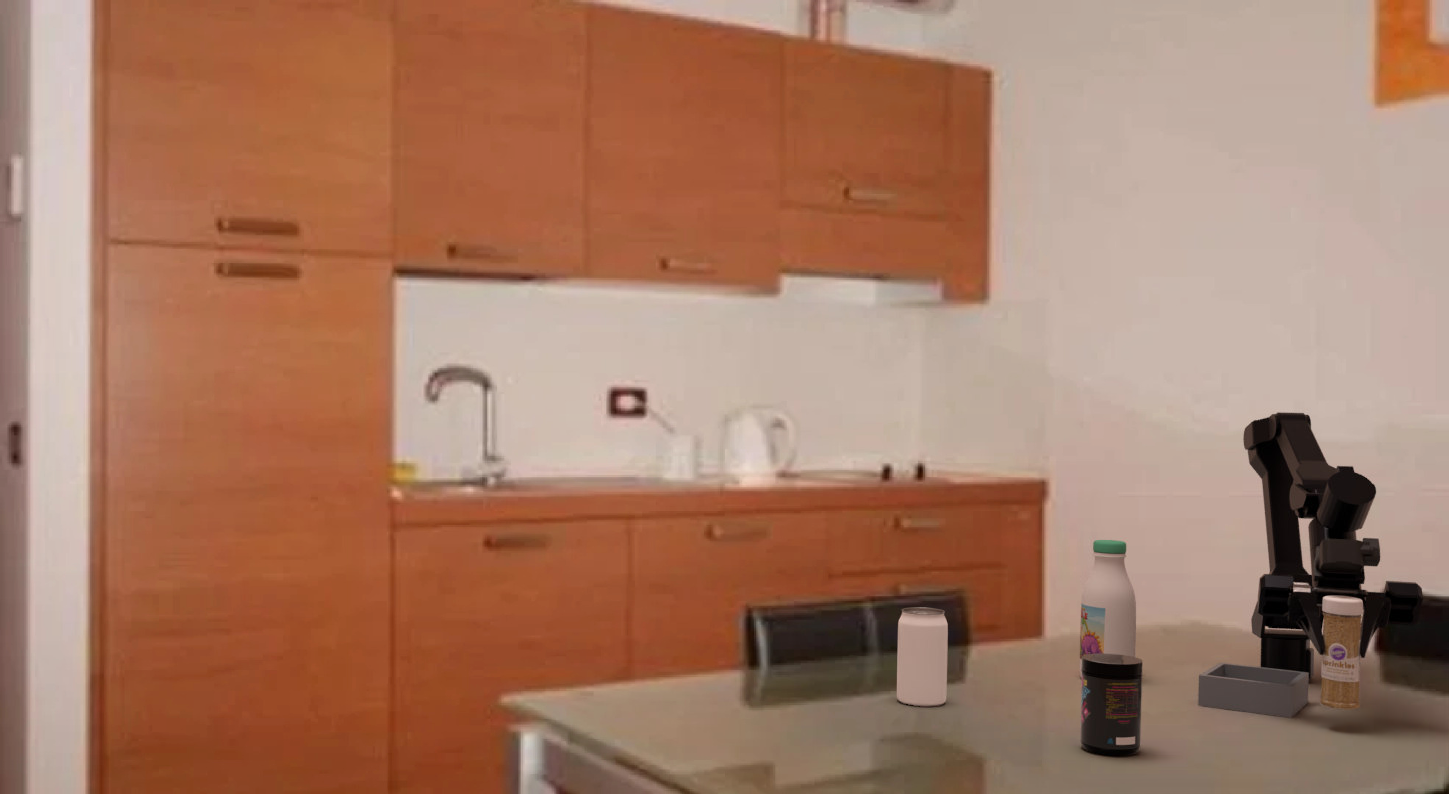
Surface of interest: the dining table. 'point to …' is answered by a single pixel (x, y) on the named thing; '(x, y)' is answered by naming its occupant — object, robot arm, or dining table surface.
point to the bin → (1253, 689)
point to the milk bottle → (1108, 604)
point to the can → (922, 657)
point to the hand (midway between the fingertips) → (1342, 654)
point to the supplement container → (1111, 704)
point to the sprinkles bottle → (1341, 651)
